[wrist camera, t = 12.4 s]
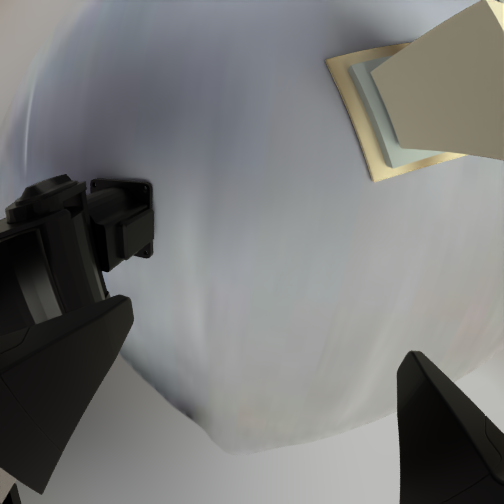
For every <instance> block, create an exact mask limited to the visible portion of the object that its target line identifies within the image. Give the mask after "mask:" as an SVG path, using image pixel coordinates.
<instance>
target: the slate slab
mask: <svg viewBox="0 0 504 504" xmlns="http://www.w3.org/2000/svg"><path fill="white" fill-rule="evenodd" d="M392 56H393V55H392ZM392 56H387V57H382V58H378V59H373V60H369V61H365V62H361V63H357V64H353V65H351V66H350V68H349V69H348V72H349V74H350V76H351V79H352V81H353V83H354V85H355V87H356V89H357V91H358V93H359V96H360V98H361V100H362V102H363V105H364V107H365V109H366V112H367V114H368V117H369V119H370V122H371V124H372V127H373V129H374V132H375V135H376V137H377V140H378V143H379V146H380V148H381V151H382V154H383V157H384V160H385V163H386V166H387V167H390V168H393V169H394V168H397V167H400V166H403V165H406V164H409V163H412V162H415V161H419V160H422V159H425V158H428V157H432V156H435V155H438V154H441V153H445V152H441V151H431V150H418V149H402V148H401V147H400V144H399V141H398V138H397V136H396V133H395V130H394V127H393V125H392V122H391V119H390V117H389V114H388V112H387V109H386V107H385V104H384V102H383V100H382V97H381V95H380V93H379V90H378V88H377V86H376V84H375V82H374V79H373V77H372V75H371V73H370V72H371V71H373V70H374V69H375V68H377V67H378V66H379V65H381V64H382V63H383V62H385V61H386V60H388V59H389V58H390V57H392Z"/></svg>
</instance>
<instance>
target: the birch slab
mask: <svg viewBox="0 0 504 504" xmlns="http://www.w3.org/2000/svg"><path fill="white" fill-rule="evenodd" d="M409 44H410V43H404V44H397V45H390V46H384V47H378V48H373V49H368V50H363V51H358V52H354V53H349V54H345V55H341V56H337V57H333V58H330V59H326V61H325V63H326V65H327V67H328V69H329V71H330V73H331V75H332V77H333V79H334V81H335V83H336V86H337V88H338V90H339V92H340V95H341V97H342V99H343V102H344V104H345V106H346V109H347V111H348V114H349V116H350V119H351V121H352V124H353V126H354V129H355V132H356V134H357V137H358V140H359V142H360V145H361V148H362V151H363V154H364V157H365V160H366V163H367V166H368V169H369V172H370V176H371V179H372V181H373V182H377V181H380V180H383V179H387V178H390V177H393V176H397V175H400V174H403V173H406V172H410V171H413V170H417V169H420V168H423V167H427V166H430V165H434V164H437V163H441V162H444V161H448V160H451V159H455V158H458V157H462V156H466V155H467V154H459V153H451V152H445V153H441V154H438V155H435V156H432V157H428V158H425V159H422V160H419V161H415V162H412V163H409V164H406V165H403V166H400V167H397V168H394V169H393V168H390V167H387V166H386V163H385V160H384V157H383V154H382V151H381V148H380V146H379V143H378V140H377V137H376V135H375V132H374V129H373V127H372V124H371V122H370V119H369V117H368V114H367V112H366V109H365V107H364V105H363V102H362V100H361V98H360V96H359V93H358V91H357V89H356V87H355V85H354V83H353V81H352V79H351V76H350V74H349V72H348V69H349V68H350V66H351V65H353V64H357V63H361V62H365V61H369V60H373V59H378V58H382V57H387V56H392V55H395V54H396V53H397V52H399V51H400V50H402V49H403V48H405V47H406V46H407V45H409Z"/></svg>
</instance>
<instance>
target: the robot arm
mask: <svg viewBox="0 0 504 504" xmlns="http://www.w3.org/2000/svg"><path fill="white" fill-rule="evenodd" d="M95 183H96V186H95ZM145 187H147V191H145ZM86 189H87V187H86V181H84V182H77V181H73V180H71V179H70V178H69V177H68V176H67V174H64V175H59V176H56V177H53V178H49V179H46V180H43V181H41V182H38V183H36V184H33V185H31V186H29V187H27V188H26V189H25V191H24V192H23V194H22V196H21V197H20V198H19V199H17V200H16V201H15V202H14V203H12V204H11V205H9V206H8V207H7V208H6V209H5V212H6V218H4V219H1V220H0V504H21V501H20V497H19V493H18V489H17V485H16V484H15V481H16V479H17V480H19V481H20V482H21V483H23V484H25V485H26V486H28V487H29V488H31V489H32V490H34V491H36V492H37V493H39V494H41V495H42V494H43V492H44V490H45V488H46V486H47V484H48V481H49V479H50V477H51V475H52V473H53V471H54V469H55V467H56V465H57V463H58V461H59V459H60V457H61V455H62V452H63V451H64V449H65V447H66V445H67V443H68V441H69V439H70V437H71V435H72V434H73V432H74V430H75V428H76V426H77V424H78V422H79V421H80V419H81V417H82V415H83V413H84V412H85V410H86V408H87V406H88V404H89V403H90V401H91V400H92V398H93V396H94V394H95V393H96V391H97V389H98V387H99V386H100V384H101V382H102V381H103V379H104V377H105V376H106V374H107V373H108V371H109V369H110V367H111V366H112V364H113V363H114V361H115V359H116V357H117V355H118V353H119V351H120V349H121V347H122V345H123V343H124V341H125V339H126V337H127V335H128V333H129V331H130V329H131V327H132V324H133V321H134V315H133V309H132V302H131V299H130V298H129V297H126V296H123V295H116V296H113V297H110V294H109V292H108V291H107V289H106V285H105V282H104V278H103V274H102V271H104V272H109V271H111V270H112V269H113V268H114V267H116V266H117V265H118V264H119V263H121V262H122V261H123V260H128V259H129V258H130V257H132V256H138V257H142V258H150V257H151V256H152V255H153V239H154V211H153V209H152V185H151V184H150V183H148V182H138V181H126V180H113V179H98V178H97V179H93V180H92V181H91V183H90V189H91V193H90V194H88V195H86V191H85V190H86ZM146 251H147V252H148V254H147V253H146ZM397 417H398V430H399V446H400V504H504V433H502V432H501V431H500V430H499V429H498V428H497V426H495V425H494V423H493V422H492V421H491V420H490V419H489V418H488V417H487V416H485V414H484V413H483V412H482V411H481V410H480V409H479V408H478V407H477V406H476V405H475V404H474V403H473V402H472V401H471V400H470V399H469V398H468V397H467V396H466V395H465V394H464V393H463V392H462V391H461V390H460V389H459V388H458V387H457V386H456V385H455V384H454V383H453V382H452V381H451V380H450V379H449V378H448V377H447V376H446V375H445V374H444V373H443V372H442V371H441V370H440V369H439V368H438V367H437V366H436V365H435V364H434V363H433V362H432V361H430V360H429V359H428V358H427V357H426V356H425V355H424V354H423V353H422V352H420V351H409V352H408V353H407V355H406V356H405V358H404V360H403V361H402V363H401V365H400V366H399V368H398V371H397Z"/></svg>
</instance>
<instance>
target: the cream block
mask: <svg viewBox="0 0 504 504" xmlns="http://www.w3.org/2000/svg"><path fill="white" fill-rule="evenodd" d="M370 73H371V75H372V77H373V79H374V82H375V84H376V86H377V88H378V90H379V93H380V95H381V97H382V100H383V102H384V104H385V107H386V109H387V112H388V114H389V117H390V119H391V122H392V125H393V127H394V130H395V133H396V136H397V138H398V141H399V144H400V147H401V148H402V149H418V150H431V151H441V152H451V153H459V154H467V155H474V156H481V157H487V158H493V159H499V160H504V3H501V2H497V1H493V0H481V1H479V2H477V3H475V4H473V5H472V6H470V7H468V8H466V9H465V10H463V11H461V12H459V13H458V14H456V15H454V16H453V17H451V18H449V19H448V20H446V21H444V22H443V23H441V24H439V25H438V26H436V27H435V28H433V29H432V30H430V31H428V32H427V33H425V34H424V35H422V36H421V37H419V38H418V39H416V40H415V41H413V42H412V43H410V44H409V45H407V46H406V47H405V48H403V49H402V50H400V51H399V52H397V53H396V54H395V55H393V56H392V57H390V58H389V59H388V60H386V61H385V62H383V63H382V64H381V65H379V66H378V67H377V68H375V69H374V70H373V71H371V72H370Z"/></svg>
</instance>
